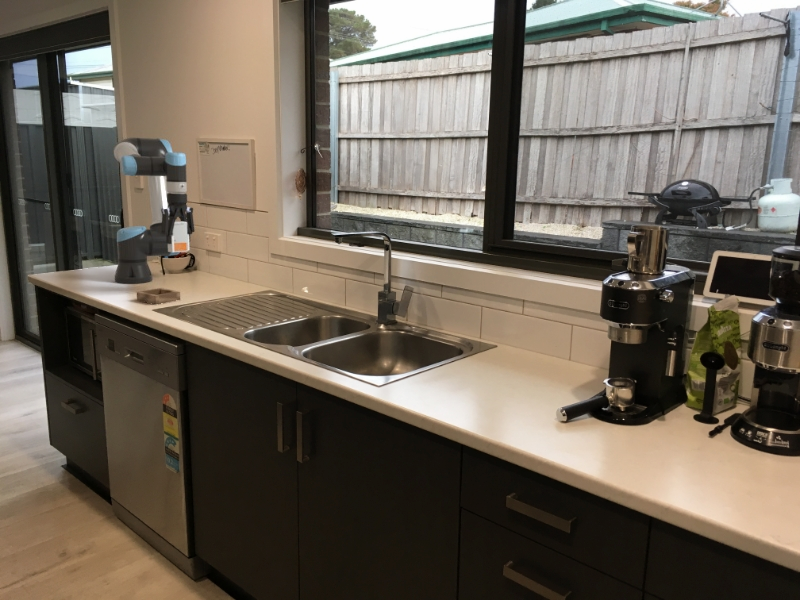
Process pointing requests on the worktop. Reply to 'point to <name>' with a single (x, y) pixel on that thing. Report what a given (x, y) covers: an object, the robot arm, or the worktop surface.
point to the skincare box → (180, 236)
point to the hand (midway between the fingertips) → (178, 251)
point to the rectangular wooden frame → (158, 296)
